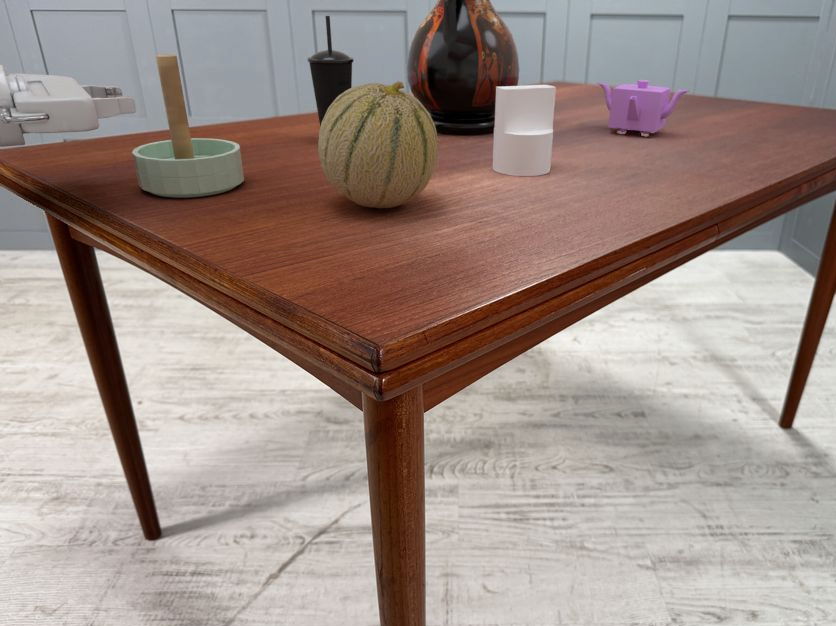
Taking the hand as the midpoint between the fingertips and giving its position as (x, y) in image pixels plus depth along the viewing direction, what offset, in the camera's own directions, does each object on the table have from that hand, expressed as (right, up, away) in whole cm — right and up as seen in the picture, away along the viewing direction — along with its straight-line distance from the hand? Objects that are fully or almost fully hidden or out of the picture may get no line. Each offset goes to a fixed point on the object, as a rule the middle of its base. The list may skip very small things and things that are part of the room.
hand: (127, 98), depth 83 cm
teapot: (+76, +11, +48) cm, 90 cm away
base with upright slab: (+51, -3, +21) cm, 55 cm away
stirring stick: (+5, -9, +6) cm, 12 cm away
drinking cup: (+19, +6, +35) cm, 41 cm away
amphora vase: (+42, +13, +49) cm, 66 cm away
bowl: (+5, -9, +8) cm, 13 cm away
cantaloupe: (+31, -13, +2) cm, 34 cm away
